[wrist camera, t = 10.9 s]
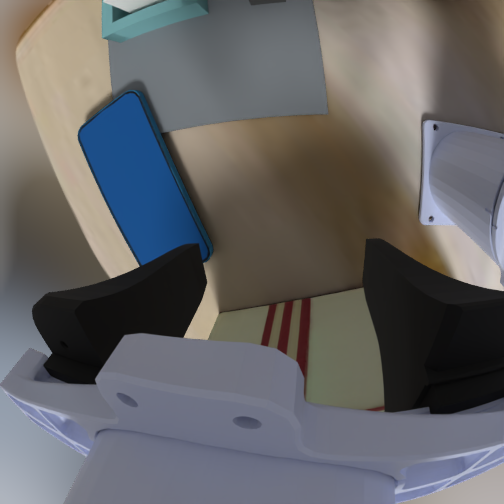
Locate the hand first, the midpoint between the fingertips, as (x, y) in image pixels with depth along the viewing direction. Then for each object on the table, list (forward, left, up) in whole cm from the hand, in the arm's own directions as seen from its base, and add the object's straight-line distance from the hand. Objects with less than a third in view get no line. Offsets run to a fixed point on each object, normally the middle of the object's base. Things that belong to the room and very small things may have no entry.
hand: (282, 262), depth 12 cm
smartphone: (+12, -2, -9) cm, 15 cm away
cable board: (+5, -15, -9) cm, 18 cm away
